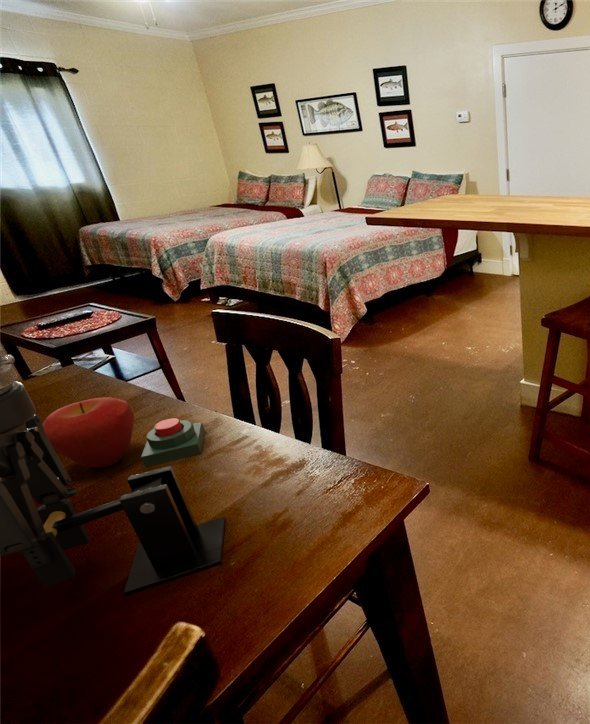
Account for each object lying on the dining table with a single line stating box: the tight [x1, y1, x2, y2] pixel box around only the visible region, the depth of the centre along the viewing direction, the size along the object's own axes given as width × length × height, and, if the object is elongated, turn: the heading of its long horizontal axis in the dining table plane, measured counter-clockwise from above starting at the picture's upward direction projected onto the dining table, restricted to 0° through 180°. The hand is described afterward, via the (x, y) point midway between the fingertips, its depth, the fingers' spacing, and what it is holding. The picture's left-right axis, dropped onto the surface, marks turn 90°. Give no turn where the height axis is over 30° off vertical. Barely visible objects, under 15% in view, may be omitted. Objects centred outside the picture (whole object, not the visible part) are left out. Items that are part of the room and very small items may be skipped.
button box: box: [140, 419, 206, 468], centre depth 84 cm, size 8×8×4 cm
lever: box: [43, 477, 171, 536], centre depth 57 cm, size 12×5×2 cm, turn 118°
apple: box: [42, 396, 135, 469], centre depth 79 cm, size 11×11×12 cm
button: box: [153, 417, 182, 437], centre depth 83 cm, size 4×4×2 cm
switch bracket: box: [119, 465, 227, 597], centre depth 60 cm, size 10×9×13 cm
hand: (68, 561), depth 57 cm, fingers closed on lever, 5 cm apart
